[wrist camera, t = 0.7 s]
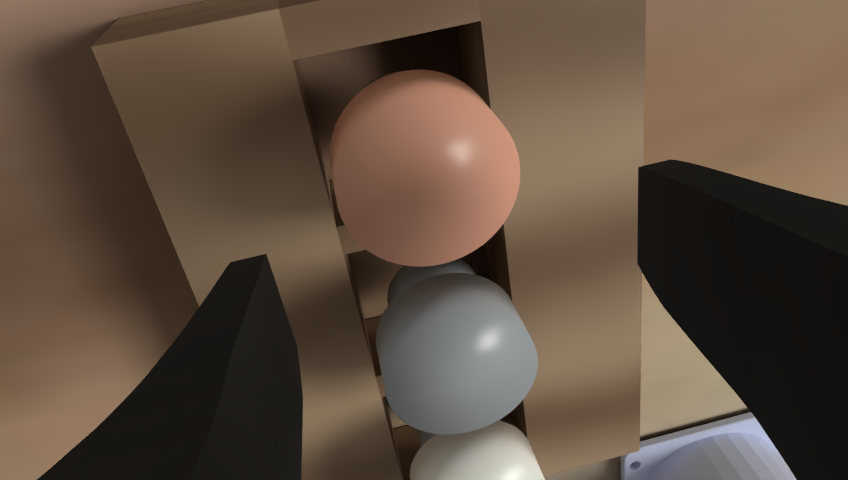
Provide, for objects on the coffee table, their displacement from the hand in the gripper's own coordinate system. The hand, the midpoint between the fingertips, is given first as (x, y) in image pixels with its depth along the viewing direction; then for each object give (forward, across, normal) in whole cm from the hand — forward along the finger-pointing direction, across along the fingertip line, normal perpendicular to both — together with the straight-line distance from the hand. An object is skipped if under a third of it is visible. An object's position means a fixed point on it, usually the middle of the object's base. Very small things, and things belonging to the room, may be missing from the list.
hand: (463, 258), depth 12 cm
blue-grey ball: (+7, 0, +6) cm, 9 cm away
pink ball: (+7, 0, 0) cm, 7 cm away
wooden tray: (+9, 0, +6) cm, 11 cm away
